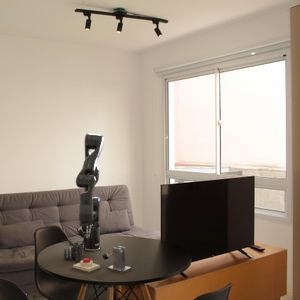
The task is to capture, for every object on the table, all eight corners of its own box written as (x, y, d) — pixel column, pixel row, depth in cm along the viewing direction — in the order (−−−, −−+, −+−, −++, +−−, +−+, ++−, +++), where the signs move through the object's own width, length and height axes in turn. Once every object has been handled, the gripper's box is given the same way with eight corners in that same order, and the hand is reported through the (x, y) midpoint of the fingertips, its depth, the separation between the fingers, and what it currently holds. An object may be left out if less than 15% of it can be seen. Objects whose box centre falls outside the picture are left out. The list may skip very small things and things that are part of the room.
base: (107, 269, 203) (106, 247, 203) (115, 266, 209) (115, 244, 209) (122, 273, 196) (122, 250, 196) (131, 269, 202) (131, 247, 202)
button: (81, 262, 204) (81, 259, 204) (86, 260, 207) (86, 257, 207) (86, 263, 202) (86, 260, 202) (91, 262, 204) (91, 258, 204)
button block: (73, 269, 205) (73, 261, 204) (84, 265, 211) (84, 257, 211) (89, 273, 197) (89, 265, 197) (100, 269, 204) (99, 261, 204)
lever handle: (102, 260, 208) (100, 255, 209) (106, 259, 210) (104, 253, 211) (120, 253, 200) (118, 247, 201) (123, 252, 203) (121, 246, 203)
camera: (65, 255, 229) (64, 239, 229) (83, 255, 229) (83, 239, 229) (64, 263, 215) (64, 245, 215) (83, 263, 215) (83, 245, 215)
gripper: (88, 209, 212) (88, 241, 212) (72, 213, 202) (72, 246, 202) (99, 211, 207) (99, 243, 207) (83, 214, 197) (83, 248, 197)
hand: (86, 244), depth 205 cm, fingers closed
